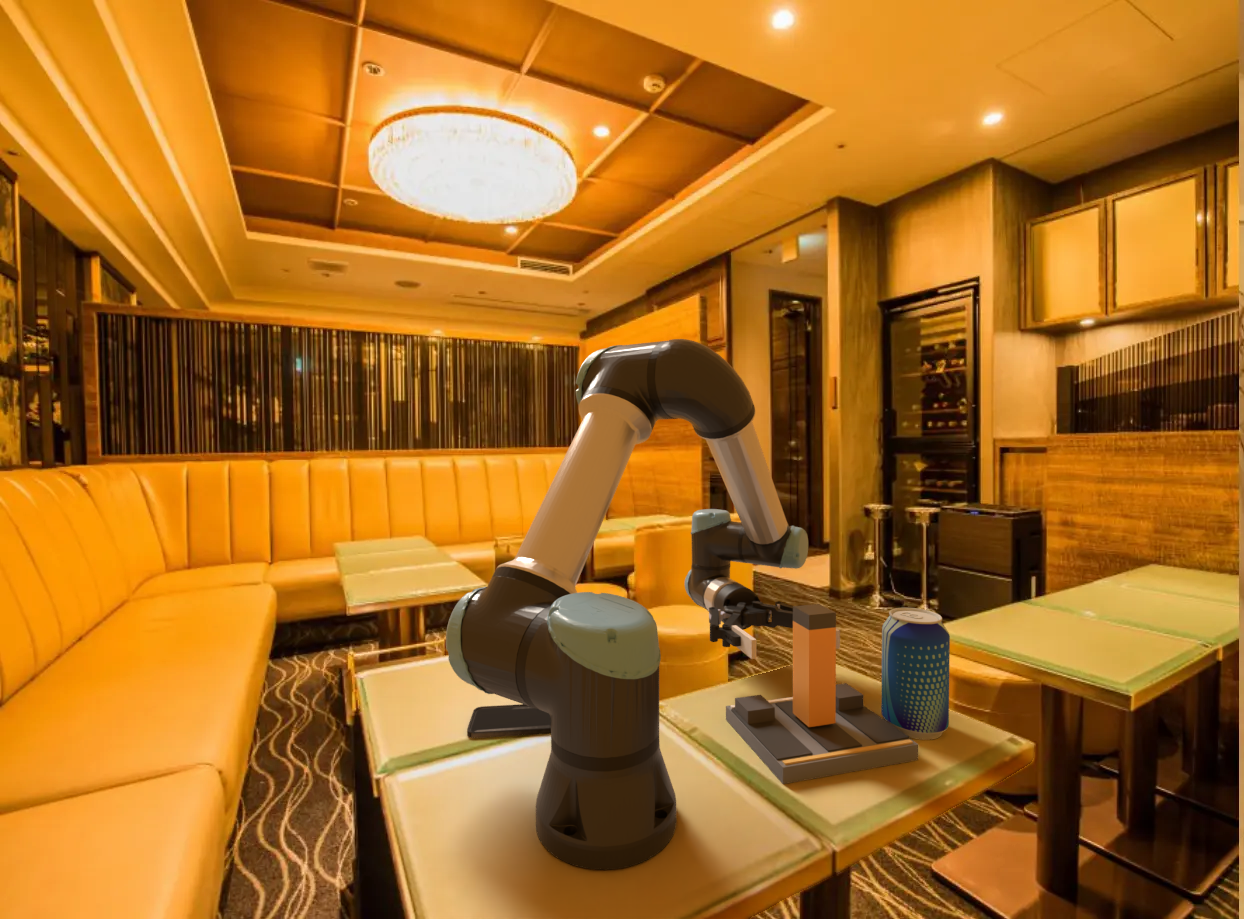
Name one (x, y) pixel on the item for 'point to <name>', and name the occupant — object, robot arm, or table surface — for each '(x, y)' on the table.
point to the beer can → (915, 673)
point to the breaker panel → (819, 737)
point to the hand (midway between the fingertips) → (796, 644)
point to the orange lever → (814, 664)
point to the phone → (508, 721)
